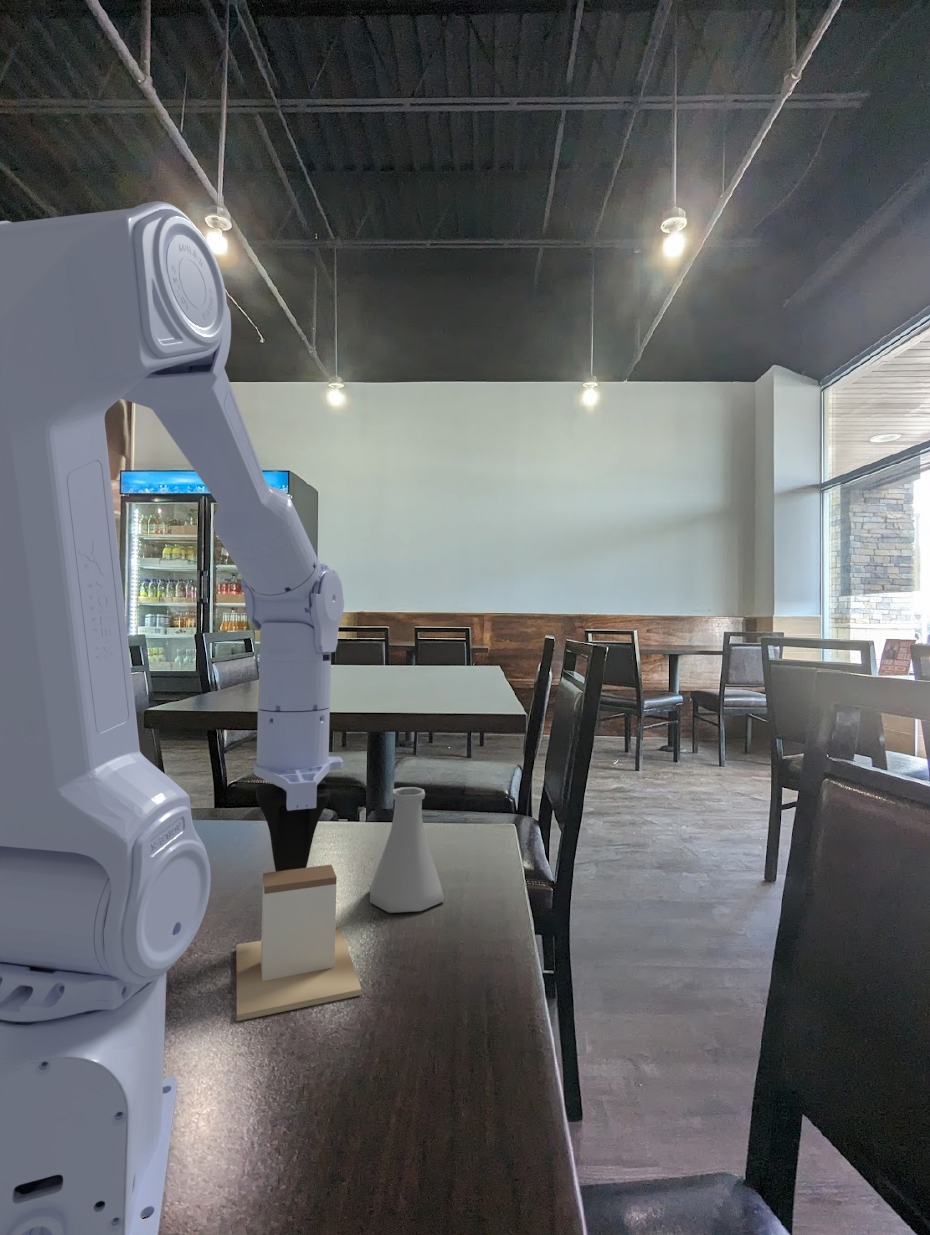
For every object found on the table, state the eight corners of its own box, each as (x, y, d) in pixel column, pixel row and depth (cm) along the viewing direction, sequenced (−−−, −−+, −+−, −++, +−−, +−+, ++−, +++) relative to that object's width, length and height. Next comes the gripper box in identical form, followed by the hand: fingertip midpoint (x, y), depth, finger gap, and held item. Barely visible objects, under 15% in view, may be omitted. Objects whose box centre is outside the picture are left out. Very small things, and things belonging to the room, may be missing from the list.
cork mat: (361, 994, 40) (361, 989, 40) (236, 1021, 37) (236, 1015, 37) (339, 932, 48) (339, 927, 48) (236, 949, 45) (236, 944, 46)
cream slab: (334, 967, 43) (336, 877, 43) (262, 981, 41) (264, 886, 41) (329, 949, 45) (331, 864, 45) (260, 962, 43) (263, 873, 43)
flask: (358, 889, 57) (360, 785, 57) (426, 876, 60) (428, 778, 60) (382, 922, 50) (384, 805, 51) (457, 906, 54) (459, 796, 54)
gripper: (360, 718, 43) (356, 905, 43) (330, 697, 56) (326, 839, 56) (258, 721, 40) (253, 921, 40) (252, 699, 54) (248, 848, 53)
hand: (290, 874), depth 48 cm, fingers closed
